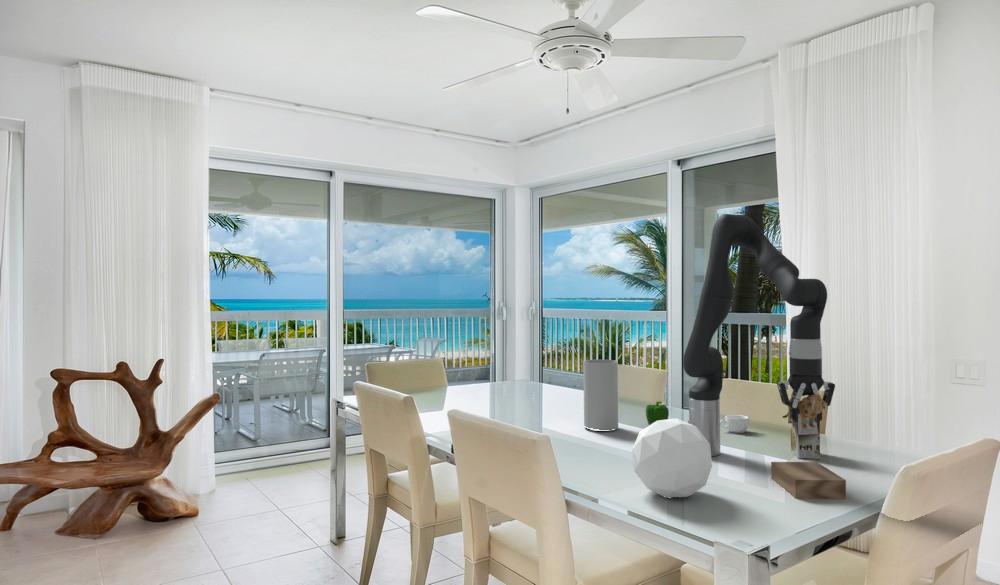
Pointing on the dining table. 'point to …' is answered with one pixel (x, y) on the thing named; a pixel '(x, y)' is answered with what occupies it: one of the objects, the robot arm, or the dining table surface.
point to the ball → (672, 458)
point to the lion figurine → (808, 409)
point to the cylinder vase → (601, 394)
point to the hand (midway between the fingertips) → (806, 421)
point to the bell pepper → (656, 412)
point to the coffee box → (805, 439)
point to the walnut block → (808, 480)
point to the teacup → (736, 423)
